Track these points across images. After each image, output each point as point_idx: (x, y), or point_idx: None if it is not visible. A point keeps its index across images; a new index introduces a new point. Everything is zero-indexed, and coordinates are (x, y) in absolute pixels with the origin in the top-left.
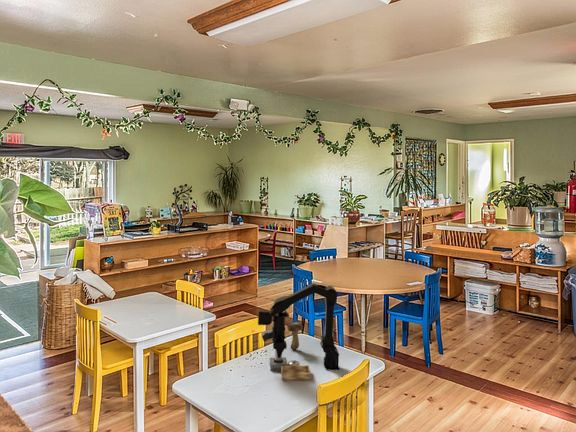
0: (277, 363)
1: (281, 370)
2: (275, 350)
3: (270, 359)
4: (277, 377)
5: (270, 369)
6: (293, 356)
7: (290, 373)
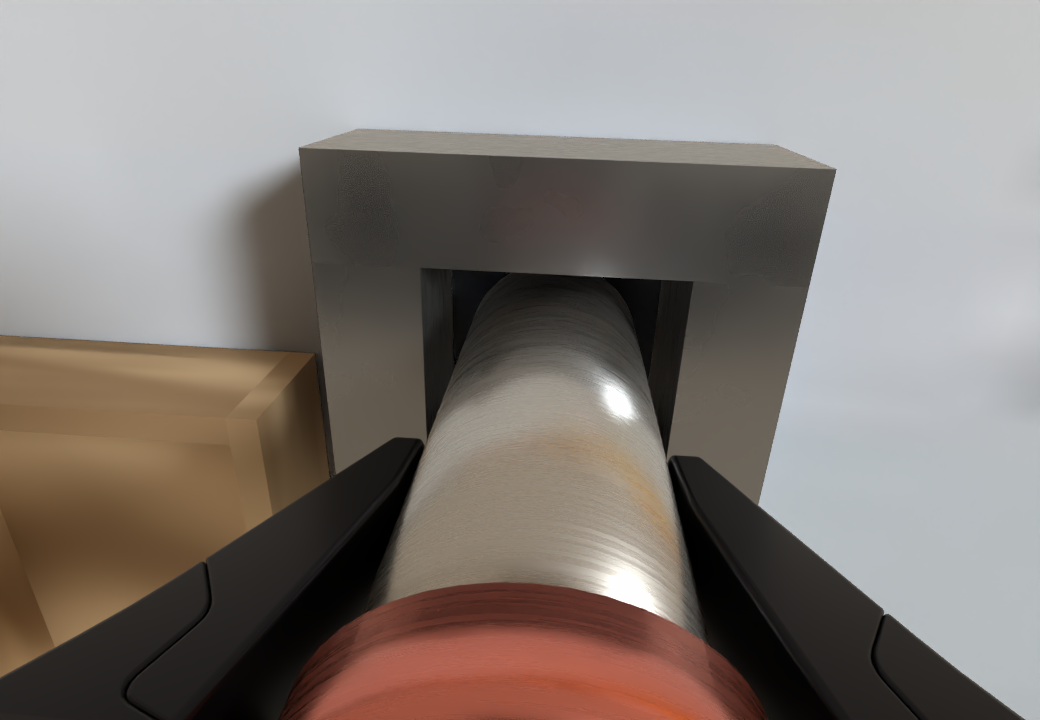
0: (385, 350)
1: (132, 386)
2: (470, 527)
3: (691, 175)
4: (47, 255)
5: (393, 131)
6: (1004, 652)
7: (195, 509)
